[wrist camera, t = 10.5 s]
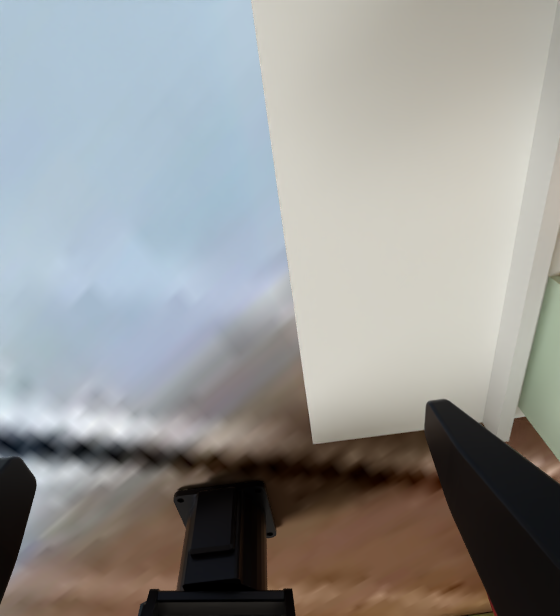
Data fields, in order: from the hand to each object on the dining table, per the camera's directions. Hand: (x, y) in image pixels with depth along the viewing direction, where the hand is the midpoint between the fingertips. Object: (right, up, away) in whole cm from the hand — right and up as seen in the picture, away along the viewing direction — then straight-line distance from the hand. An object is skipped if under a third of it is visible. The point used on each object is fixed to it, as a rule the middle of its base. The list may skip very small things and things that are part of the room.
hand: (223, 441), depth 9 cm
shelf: (+12, +6, +11) cm, 17 cm away
